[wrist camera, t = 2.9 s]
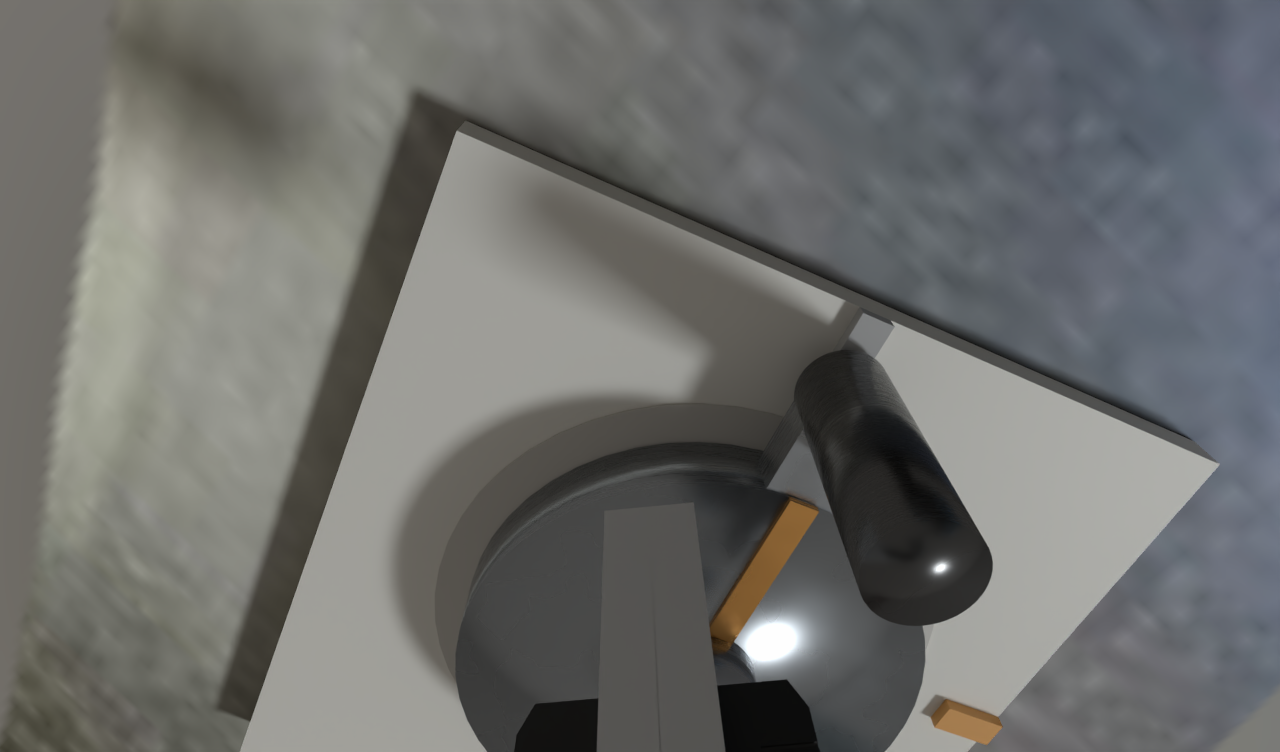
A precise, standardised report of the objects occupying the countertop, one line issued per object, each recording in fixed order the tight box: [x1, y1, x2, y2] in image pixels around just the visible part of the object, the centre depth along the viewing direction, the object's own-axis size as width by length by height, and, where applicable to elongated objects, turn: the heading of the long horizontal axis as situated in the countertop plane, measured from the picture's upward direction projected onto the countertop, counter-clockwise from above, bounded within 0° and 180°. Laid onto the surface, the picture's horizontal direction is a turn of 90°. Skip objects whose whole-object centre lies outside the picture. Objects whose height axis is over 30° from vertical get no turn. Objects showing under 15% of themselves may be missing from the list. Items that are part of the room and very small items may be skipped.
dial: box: [455, 350, 993, 752], centre depth 22 cm, size 17×13×8 cm
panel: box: [240, 121, 1220, 752], centre depth 27 cm, size 22×22×2 cm
